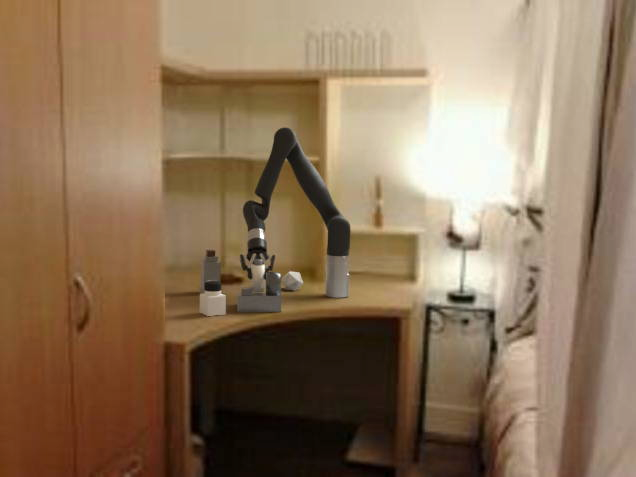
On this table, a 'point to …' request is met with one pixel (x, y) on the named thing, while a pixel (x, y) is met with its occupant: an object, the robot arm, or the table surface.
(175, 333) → the table surface
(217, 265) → the perfume bottle
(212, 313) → the medicine bottle
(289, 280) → the die
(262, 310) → the block
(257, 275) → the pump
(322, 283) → the table surface
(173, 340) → the table surface
